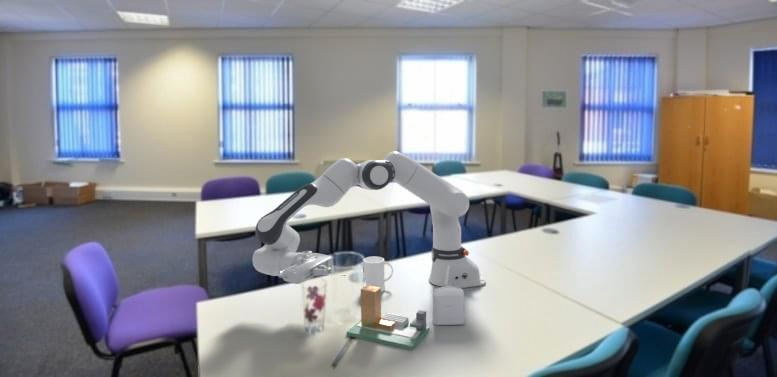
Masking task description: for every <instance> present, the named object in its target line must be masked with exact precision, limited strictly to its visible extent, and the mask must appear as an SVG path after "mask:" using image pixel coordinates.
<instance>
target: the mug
mask: <svg viewBox="0 0 777 377" xmlns="http://www.w3.org/2000/svg"><path fill="white" fill-rule="evenodd" d="M362 262H363V264H362V265H363V273H364V274H363V278H364V277H365V279H366V285H369V286H375V287H381V293H383V292H384V291H385V290H386V284H385V282H387V281H389V280H390V279H391V278H392V276H393V272H394V268H393V266H392V264H391V263H390V262H388V261H385V258H384V257H381V256H377V255H376V256H373V255H372V256H367V257H365V258H363V260H362ZM385 265H388V266H389V267H390V269H391V273H390V275H389V276H388V277H387V278H385Z"/></svg>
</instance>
